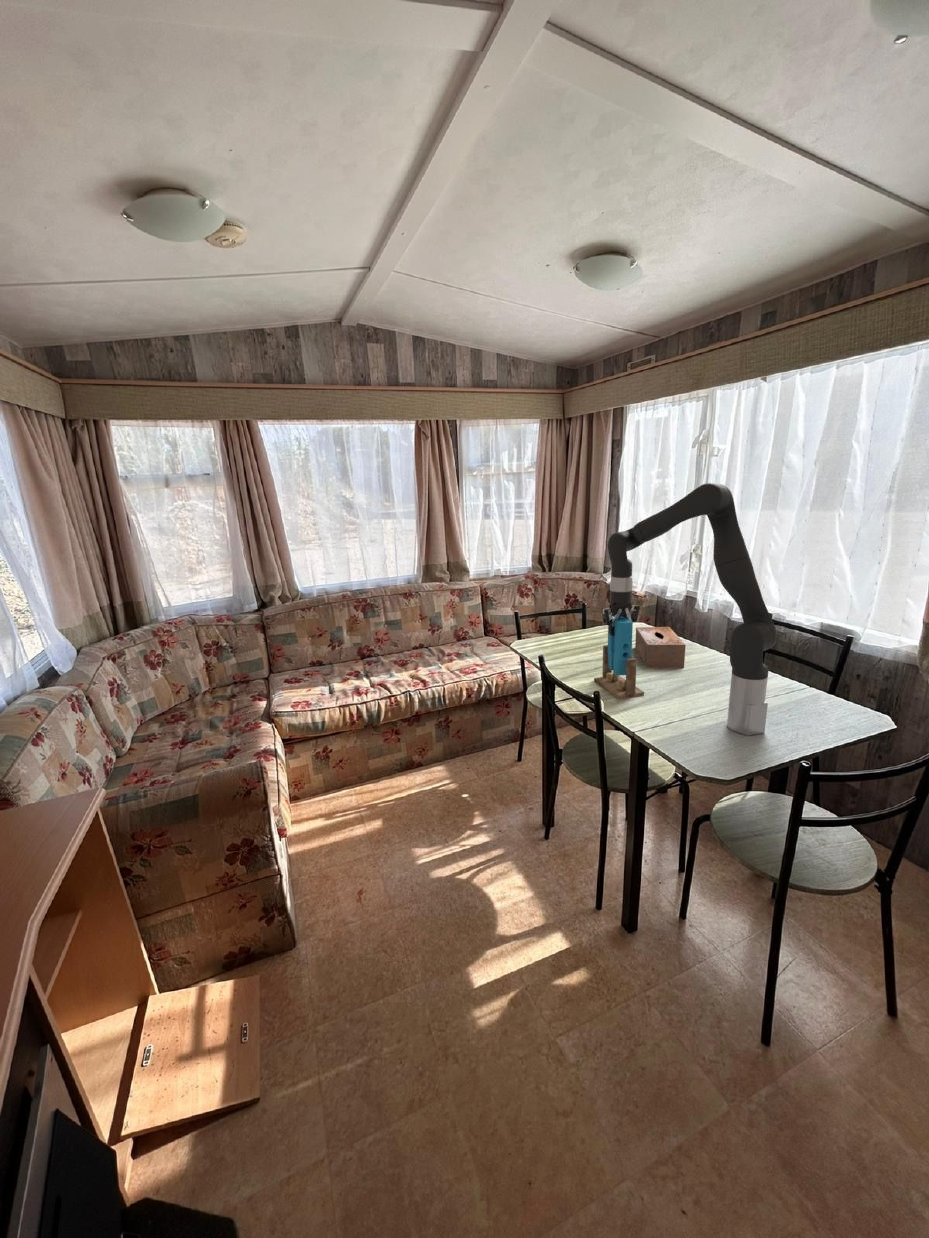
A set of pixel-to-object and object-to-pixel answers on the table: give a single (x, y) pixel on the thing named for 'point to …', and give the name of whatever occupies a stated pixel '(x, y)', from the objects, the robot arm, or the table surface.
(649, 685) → the table surface
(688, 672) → the table surface
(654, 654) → the tissue box cover
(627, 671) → the peg stand
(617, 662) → the block
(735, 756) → the table surface
